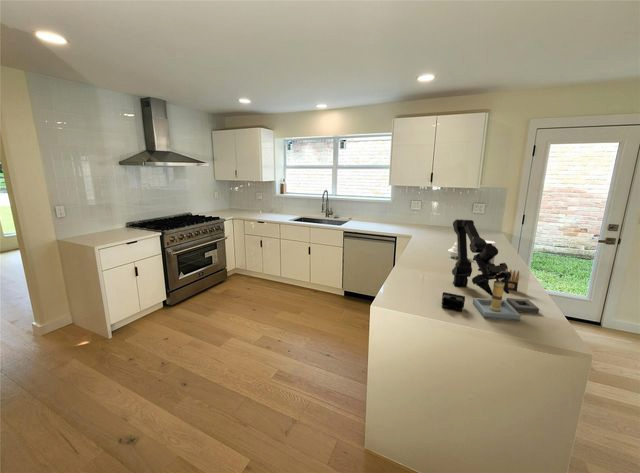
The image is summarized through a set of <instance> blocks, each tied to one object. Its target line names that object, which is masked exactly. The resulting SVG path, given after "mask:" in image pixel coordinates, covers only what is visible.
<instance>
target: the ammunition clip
mask: <svg viewBox="0 0 640 473" xmlns="http://www.w3.org/2000/svg"><path fill="white" fill-rule="evenodd" d="M507 271H508V272H510V273H511V275H512V276H511V277H510V279H509V280H508V288H509V291H512V292H518V286H519V280H520V270H518V271H517V272H516V270H515V269H514V270H513V271H512V269H506V272H507ZM502 272H504V271H502ZM500 273H501V272H500ZM500 273H499V274H500ZM497 275H498V274H497ZM495 281H497V280H496V279H495Z"/></svg>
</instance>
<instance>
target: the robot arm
mask: <svg viewBox="0 0 640 473" xmlns="http://www.w3.org/2000/svg"><path fill="white" fill-rule="evenodd" d="M452 226H453V231H454V233H455V234H456V236H457V238H456V240H457V241H456V242H457V243H458V257H457V260H456V262H455V266H454V267H453V269H451V274H452V275H453V276H454V277H453V281H452V284H453V285H454V287H456V288H468V282H469V279H468V277H469V278H470V277H471V276H472V275H471V274H472V272H473V267H472V262H471V261H470V260H469V259H468V243H467V242H468V241H467V236H468V239H469V242H470V243H469V250H470V252H471V253H473V258H472V261H475V262H476V265H477V266H478V269H477V270H478V272H480V273H481V274H477V275H475V276H474V277H472V278H471V282H472V285H476V286H477V287H479V288H480V289H481V290H483V291H484V292H486V293H487V294H488V295H490V296H491V297H492V296H493V289H492V288H491V287H490V284H489V283H490V282H489V281H490V280H491V281H493V280H495V281H496V280H497V281H501V282H504V288H503V292H504V293H505V294H510V290H509V288H508V280H509V279H510V277H511V278H512V275H513V274H511V273H510V271H509V269H508V265H507V263H506V262H500V263H499V264H497V265H496V264H495V263H494V264H491V262H490V260H491V259H492V258H494V257H496V256H498V254H499V249H498V248H497V247H496V245H495V246H493V245H492V243H486V242H485V240H486V239H484V238H482V237H481V236H480V234H479V232H478V230H477V228H476V226H475V222H474V220H473V219H460V218H459V219H457V218H455V220H454V221H453V222H452ZM507 269H508V271H507V272H506V270H507ZM502 271H504V272H502ZM500 272H501V273H500ZM499 273H500V274H499ZM497 274H498V275H497Z"/></svg>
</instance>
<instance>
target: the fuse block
mask: <svg viewBox="0 0 640 473" xmlns="http://www.w3.org/2000/svg"><path fill="white" fill-rule="evenodd" d="M506 301H507V302H508V303H509V304H510V305H511V306H512V307H513V308H514V309H515V310H516V311H517V312H518V313H528V314H539V312H540V308H539V307H538V306H537V305H536V304H534V303H533V302H532V301H531V300H530V299H526V298H525V299H524V298H516V297H515V298H512V297H506Z"/></svg>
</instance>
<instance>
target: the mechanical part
mask: <svg viewBox="0 0 640 473" xmlns="http://www.w3.org/2000/svg"><path fill="white" fill-rule="evenodd" d="M448 253H450V255H451V256H450V257H451V258H453V257H454V258H456V257H457V258H458V242H457V241H455V242H454V244H453V245H452V246H451V248H449V249H448Z"/></svg>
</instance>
